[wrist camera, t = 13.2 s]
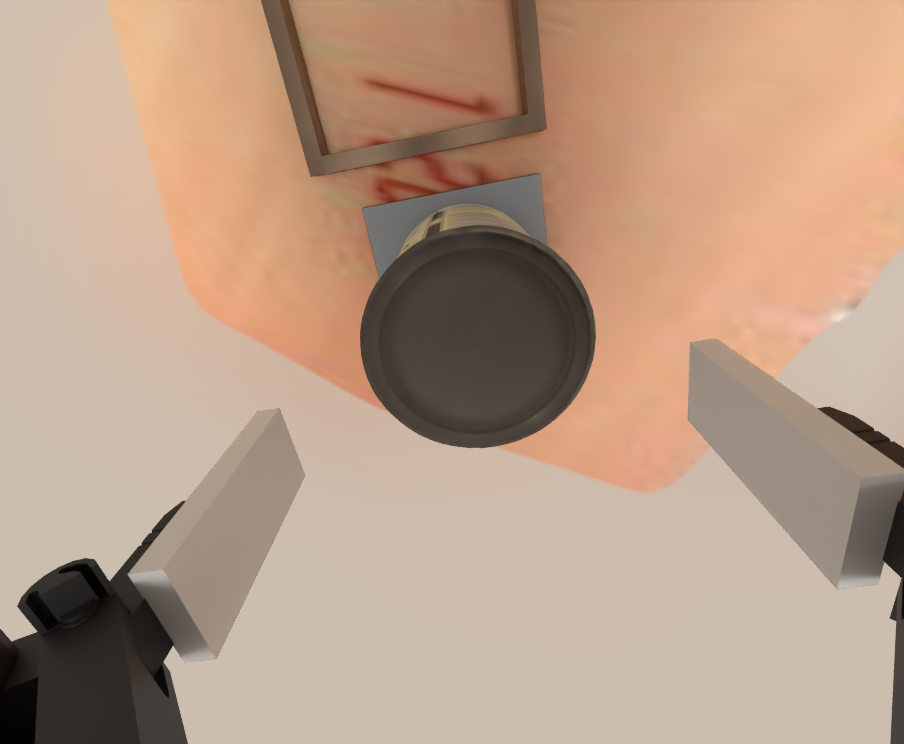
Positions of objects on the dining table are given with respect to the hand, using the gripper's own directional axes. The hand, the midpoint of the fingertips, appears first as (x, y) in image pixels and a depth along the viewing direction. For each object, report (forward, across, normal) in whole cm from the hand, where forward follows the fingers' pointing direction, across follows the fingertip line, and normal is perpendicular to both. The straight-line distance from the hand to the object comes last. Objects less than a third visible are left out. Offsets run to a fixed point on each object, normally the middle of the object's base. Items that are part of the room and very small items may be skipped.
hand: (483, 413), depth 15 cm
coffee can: (+20, 0, 0) cm, 20 cm away
